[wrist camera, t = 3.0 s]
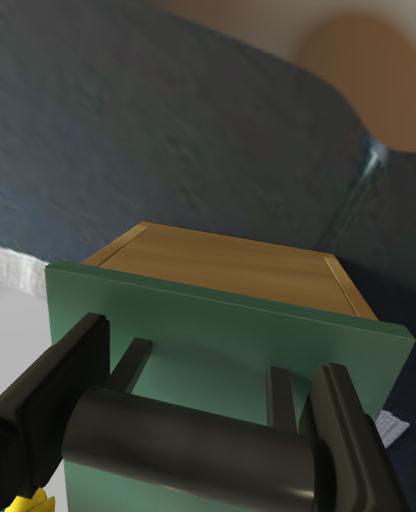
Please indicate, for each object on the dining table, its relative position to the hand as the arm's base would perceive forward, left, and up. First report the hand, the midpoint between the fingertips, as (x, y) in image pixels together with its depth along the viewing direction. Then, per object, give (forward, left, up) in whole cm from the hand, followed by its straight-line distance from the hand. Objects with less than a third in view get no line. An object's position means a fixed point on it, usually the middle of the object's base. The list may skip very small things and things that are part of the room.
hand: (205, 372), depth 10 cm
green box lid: (+6, 0, -1) cm, 6 cm away
